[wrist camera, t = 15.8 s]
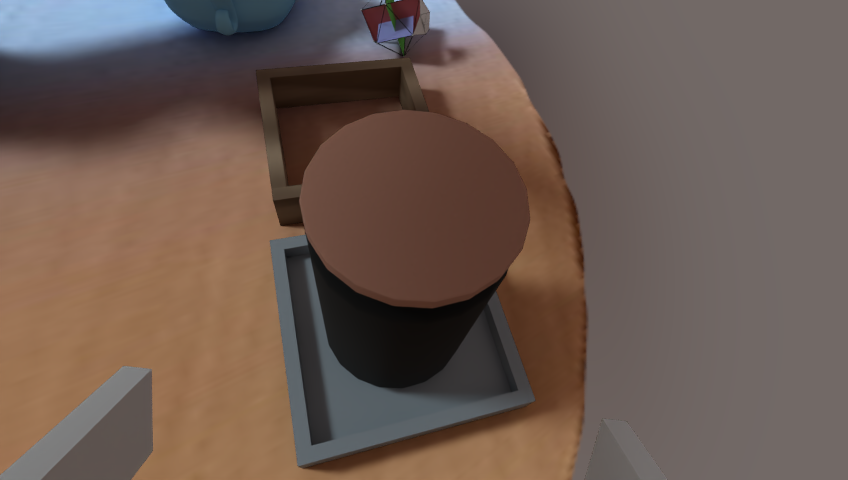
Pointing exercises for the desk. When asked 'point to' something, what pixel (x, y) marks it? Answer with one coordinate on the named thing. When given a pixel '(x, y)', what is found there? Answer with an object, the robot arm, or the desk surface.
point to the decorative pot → (231, 14)
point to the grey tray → (375, 406)
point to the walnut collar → (319, 89)
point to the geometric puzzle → (397, 21)
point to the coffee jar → (408, 239)
